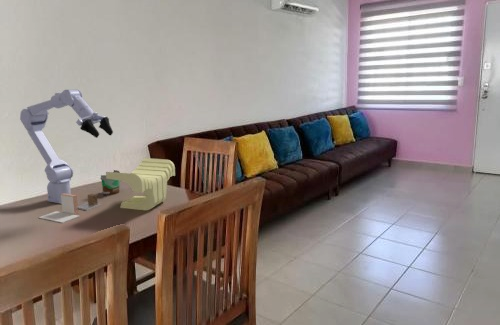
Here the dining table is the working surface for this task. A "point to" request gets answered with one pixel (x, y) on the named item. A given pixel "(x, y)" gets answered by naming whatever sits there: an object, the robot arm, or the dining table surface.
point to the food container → (110, 185)
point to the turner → (90, 202)
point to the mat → (59, 217)
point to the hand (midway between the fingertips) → (104, 134)
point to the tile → (69, 203)
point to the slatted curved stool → (146, 182)
